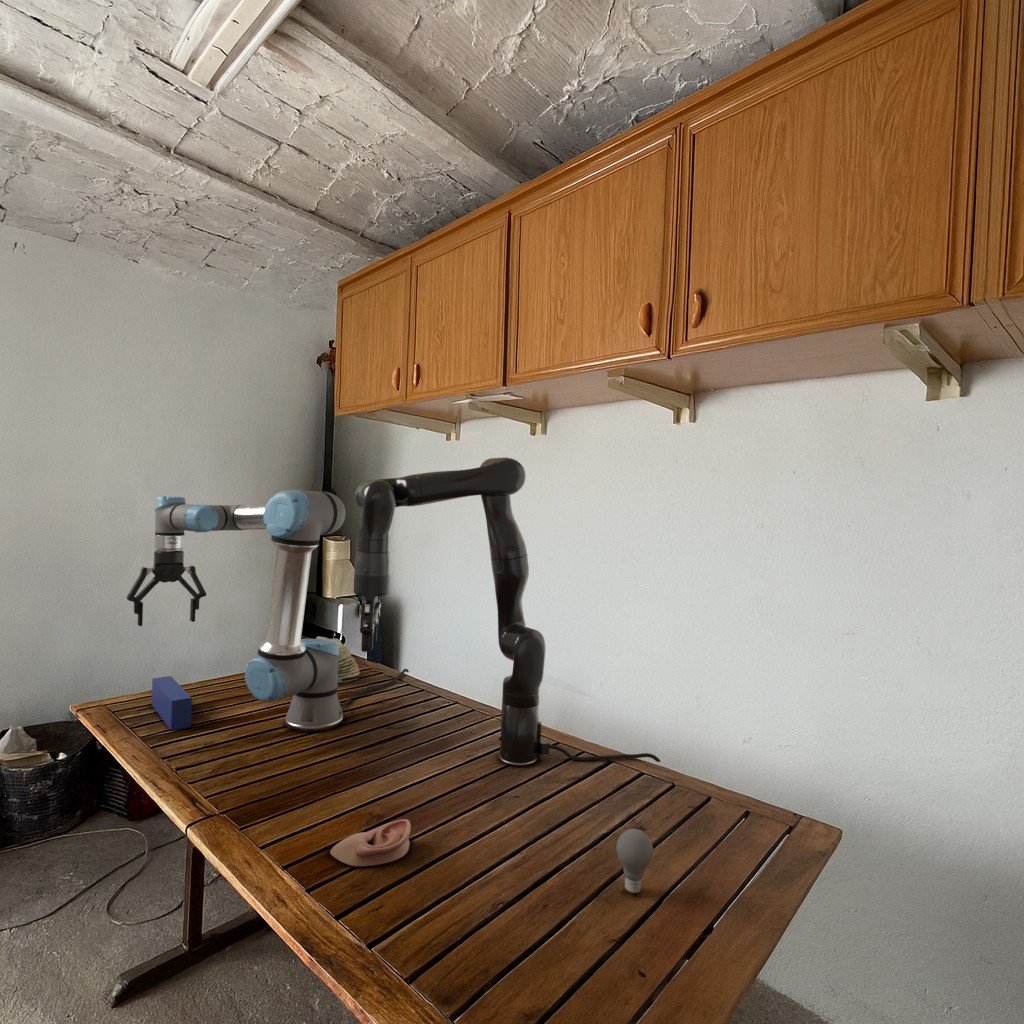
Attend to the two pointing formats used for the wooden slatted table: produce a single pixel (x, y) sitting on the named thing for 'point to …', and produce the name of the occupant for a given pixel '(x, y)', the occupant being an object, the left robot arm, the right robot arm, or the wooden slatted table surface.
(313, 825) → the wooden slatted table surface
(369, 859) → the anatomical model
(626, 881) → the light bulb
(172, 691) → the bar
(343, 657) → the fossil
